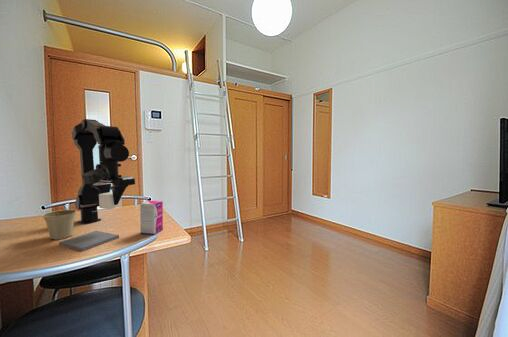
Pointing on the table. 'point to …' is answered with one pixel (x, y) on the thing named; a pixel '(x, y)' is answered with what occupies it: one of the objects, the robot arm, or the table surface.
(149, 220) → the supplement box
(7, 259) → the table surface
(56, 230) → the flower pot
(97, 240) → the gray mat
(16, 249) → the table surface
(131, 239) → the table surface
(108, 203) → the off-white cube
